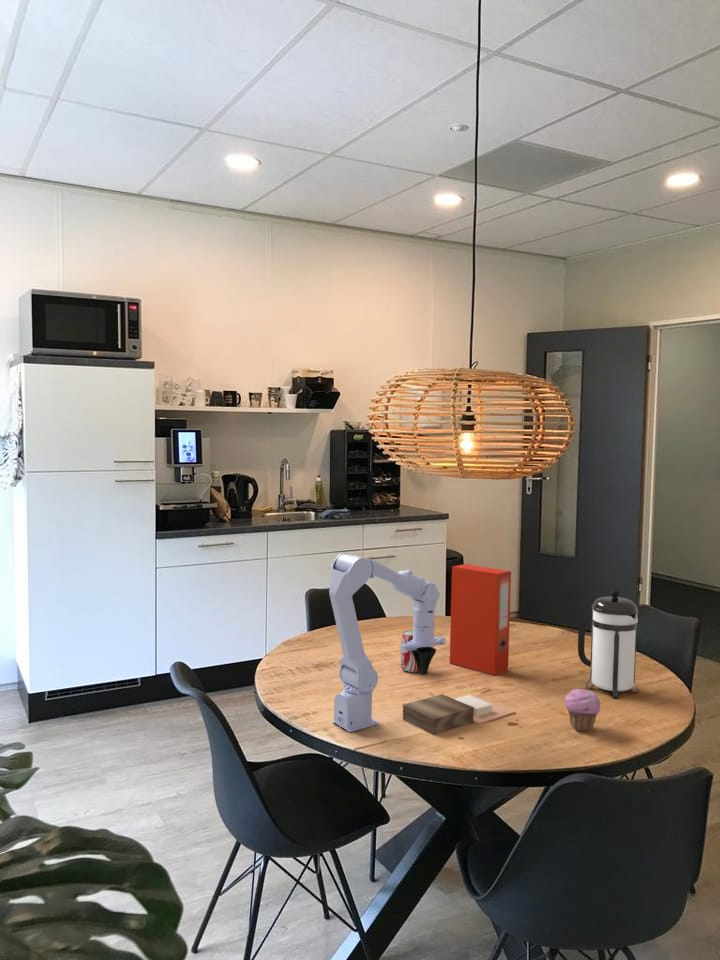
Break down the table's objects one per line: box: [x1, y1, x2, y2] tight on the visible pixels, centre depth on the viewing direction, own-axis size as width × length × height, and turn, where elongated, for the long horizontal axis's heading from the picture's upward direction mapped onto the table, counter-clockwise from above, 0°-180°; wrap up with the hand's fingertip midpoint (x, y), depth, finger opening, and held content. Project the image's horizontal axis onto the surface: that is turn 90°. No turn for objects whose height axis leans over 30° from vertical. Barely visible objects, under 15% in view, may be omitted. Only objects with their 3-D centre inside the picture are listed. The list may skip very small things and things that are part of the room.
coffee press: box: [577, 589, 640, 699], centre depth 222 cm, size 17×16×30 cm
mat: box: [470, 694, 516, 726], centre depth 206 cm, size 14×16×1 cm
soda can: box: [400, 629, 418, 673], centre depth 239 cm, size 7×7×12 cm
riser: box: [402, 694, 474, 736], centre depth 197 cm, size 14×12×4 cm
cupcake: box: [564, 688, 601, 732], centre depth 193 cm, size 9×9×10 cm
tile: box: [454, 694, 492, 717], centre depth 205 cm, size 6×9×2 cm, turn 37°
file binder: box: [449, 563, 512, 676], centre depth 242 cm, size 8×17×32 cm, turn 47°
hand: (422, 673), depth 206 cm, fingers closed
